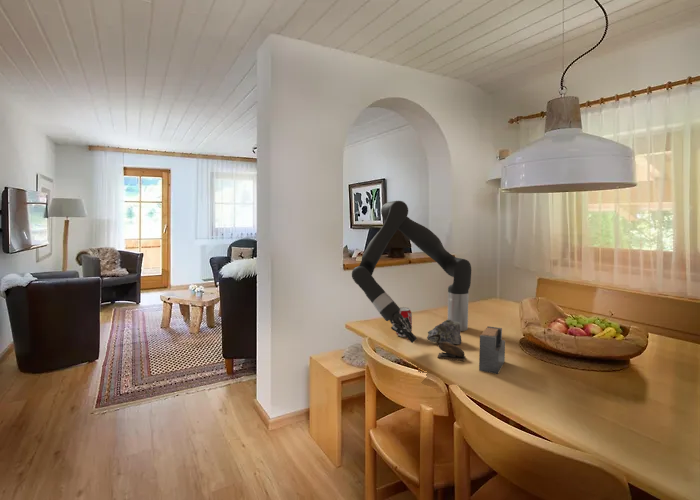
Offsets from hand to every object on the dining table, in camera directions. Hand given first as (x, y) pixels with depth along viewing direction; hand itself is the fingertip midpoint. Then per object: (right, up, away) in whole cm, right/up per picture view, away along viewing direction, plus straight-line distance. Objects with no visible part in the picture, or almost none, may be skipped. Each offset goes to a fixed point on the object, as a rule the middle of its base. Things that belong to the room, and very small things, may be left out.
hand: (414, 340), depth 154 cm
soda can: (-1, -3, +22) cm, 22 cm away
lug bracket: (+25, -6, -14) cm, 29 cm away
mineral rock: (+15, -4, +12) cm, 19 cm away
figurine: (+11, -5, -5) cm, 13 cm away
